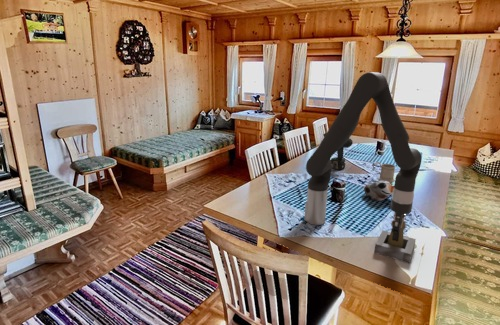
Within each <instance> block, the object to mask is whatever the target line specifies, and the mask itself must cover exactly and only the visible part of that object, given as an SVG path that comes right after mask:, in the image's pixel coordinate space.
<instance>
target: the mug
mask: <svg viewBox="0 0 500 325" xmlns="http://www.w3.org/2000/svg"><path fill="white" fill-rule="evenodd" d="M377 164H378V165H379V168H380V171H379V170H376V169H375V165H377ZM372 168H373V170H374V172H377V173H378V174H379V177H378V179H377V180H378V181H381V180H382V181H387V182H389V183H395V178H394V177H395V176H394V175H395V171H396V170H395V169H396V166H395V165H394V164H391V163H382V164H381V162H380V161H376V162H375V163H374V164H373V165H372Z"/></svg>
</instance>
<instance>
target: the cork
mask: <svg viewBox="0 0 500 325" xmlns="http://www.w3.org/2000/svg"><path fill="white" fill-rule="evenodd" d="M390 224H391V227H392V228H393V220H392V221H391V223H390ZM400 226H401V224H400ZM406 226H407V225H406V222H405V220H404V221H403V225H402V228H400V233H399V239H398V241H396V240H395V241H393V240H392V237H393V233H392V228H391V230H390V232H391V233H390V236H389V239H388V242H387V244H388V245H392V246H396V247H399V248H403V236H404V230H405V229H406Z"/></svg>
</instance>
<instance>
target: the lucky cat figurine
mask: <svg viewBox="0 0 500 325" xmlns="http://www.w3.org/2000/svg"><path fill="white" fill-rule="evenodd" d="M393 189H394V185H392V184H391V182H387V181H382V180H381V181H380V180H377V181H375V182H374V183H368V184H366V185H365V186H364V188H363V191H364V194H365V196H366V197H367V198H369V199H370V200H371V201H377V202H382V201H383V200H385V199H387V198H389V197H390V196H392V193H393Z"/></svg>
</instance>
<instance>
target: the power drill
mask: <svg viewBox="0 0 500 325" xmlns="http://www.w3.org/2000/svg"><path fill="white" fill-rule="evenodd" d="M326 133H327V132H325V133H323V138H324V137H325V135H326ZM351 146H353V139H351V137H350V138H349V139H348V140H347V142H346V143H345V144H344V145H343V146H342V147H341V148H340V149H339V150H338V151H336V153H337V156H334V157H331V158H330V160H331V164H332V167H331V169H334V170H338V171H339V170H344V169H345V168H346V159H345V158H343V157H344V152H345V151H344V148H345V149H348V148H349V149H350V147H351Z"/></svg>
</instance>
